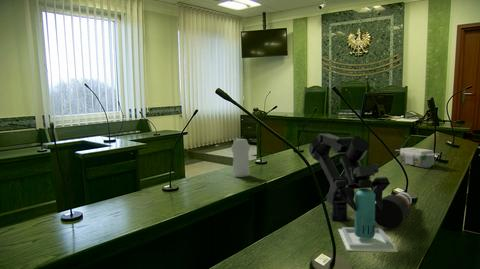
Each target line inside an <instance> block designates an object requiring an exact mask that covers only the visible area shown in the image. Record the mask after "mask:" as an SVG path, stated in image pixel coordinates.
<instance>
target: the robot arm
mask: <svg viewBox="0 0 480 269" xmlns="http://www.w3.org/2000/svg"><path fill="white" fill-rule="evenodd" d="M369 149H370V143H369V142H368V141H367V140H366V139H364V138H363V137H361V136H360V135H357V134H356V135H353V136H346V137H340V136H337V135H334V134H332V133H329V132H322V133H318V134H317V137H316V138H314V139H312V141H310V144H309V146H308V152H309V154H310V156H311V157H312V159H313V160H315V161H317V162H319V163H318V164H319V165H320V167H321V169H322V170H323V173H324V174H325V176H326V179H327V180H328V182H329V185H330V187H329V189H328V190H329V191H328V193H326V202H327V203H328V204H330V205H331V212H329V216H330V218H331V220H332V221H345V222H346V221H351V220H350V217H349V216H348V206H349V207H350V208H351V209H352V210H353V211H354V212H355V211H357V207H356V204H355V192H356V191H355V190H359V189H363V188H362V187H359V180H360V179H369V180H371V177H372V176H373V177H374V176H375V174H377V173H379V167H378V164H377V163H376V162H375V163H374V162H372V163H369V164H368V165H362V164H361V160H362V159H363V158H364V156H365V155H366V153H367V152H368V151H369ZM331 150H332V151H334V153H335V154H342V155H341V156H340V159H339V165H340V164H342V166H343V169H344V172H345V173H344V177H341V174H340V173H339V171H338V169H337V167H336V165H335V163H334V162H333V160H332V158H331V157H330V153H331ZM390 184H391V182H390V180H389V178H388V177H387V176H379V177H377V176H376V177H375V178H374V179H373V180H372V187H371V188H370V190H372V191H373V192H374V193H375V194H376V196H375V204H376V203H377V205H378V207H379V208H380V209H382V208H383V203H382V198H383V192H384V191H385V190H386V189H387V187H388V186H390Z"/></svg>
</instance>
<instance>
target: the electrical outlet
mask: <svg viewBox="0 0 480 269" xmlns="http://www.w3.org/2000/svg"><path fill="white" fill-rule="evenodd" d="M395 151H396V152H399V163H400V162H401V164H405V165H411V166H415V167H419V168H424V169H425V168H432V166H434V164H435V156H440V155H441V153H434V149H433V150H431V149H424V148H417V147H404V148H403V147H402V148H400V149H395Z"/></svg>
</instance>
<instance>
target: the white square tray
mask: <svg viewBox="0 0 480 269" xmlns="http://www.w3.org/2000/svg"><path fill="white" fill-rule="evenodd" d="M354 228H355V227H347V226H346V227H344V226H342V227H341V228H338V229H337V230H338V233H339V236H340V237H341V240H342V243H343V244H344V245H343V246H344V247H345V250H346V251H347V252H374V253H375V252H376V253H379V252H380V253H398V252H399V251H398V249H397V247H396V246H395V245H394V244H393V242H392V241H391V239H390V237H388V235H387V234H386V232H385V231H384V230H383V229H382V227H375V235H374V237H373V238H371V239H363V238H359V237H357V236H356V235H355V232H354V231H355V229H354Z"/></svg>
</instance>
